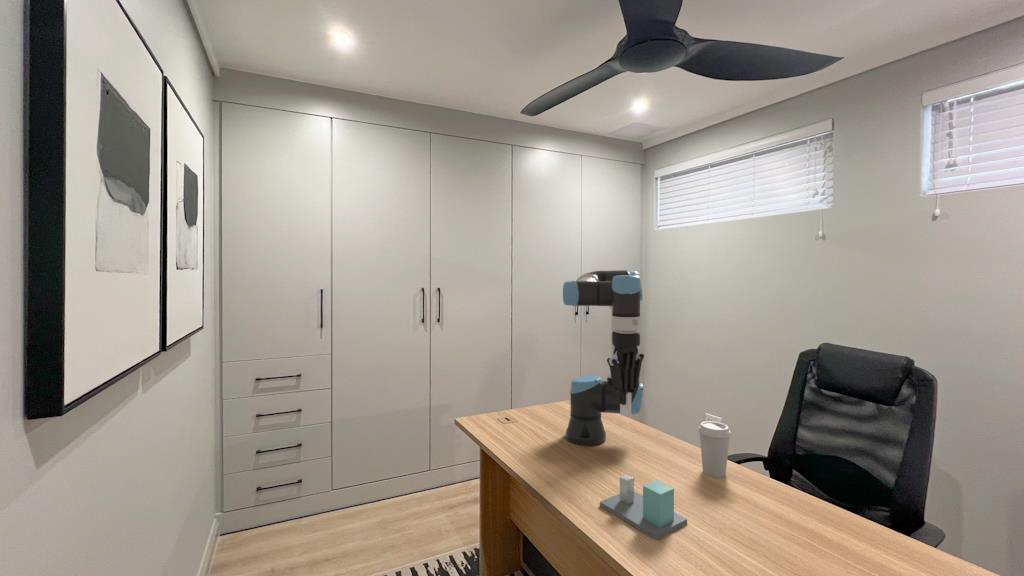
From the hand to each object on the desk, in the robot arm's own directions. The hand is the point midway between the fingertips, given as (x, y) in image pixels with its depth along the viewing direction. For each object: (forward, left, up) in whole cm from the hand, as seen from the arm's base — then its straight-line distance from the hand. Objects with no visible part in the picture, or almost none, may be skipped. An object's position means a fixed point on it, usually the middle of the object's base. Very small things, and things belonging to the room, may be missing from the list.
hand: (625, 414), depth 119 cm
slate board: (+9, -4, -23) cm, 25 cm away
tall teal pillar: (+14, -4, -22) cm, 26 cm away
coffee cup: (+6, +34, -23) cm, 42 cm away
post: (+4, -4, -22) cm, 22 cm away
